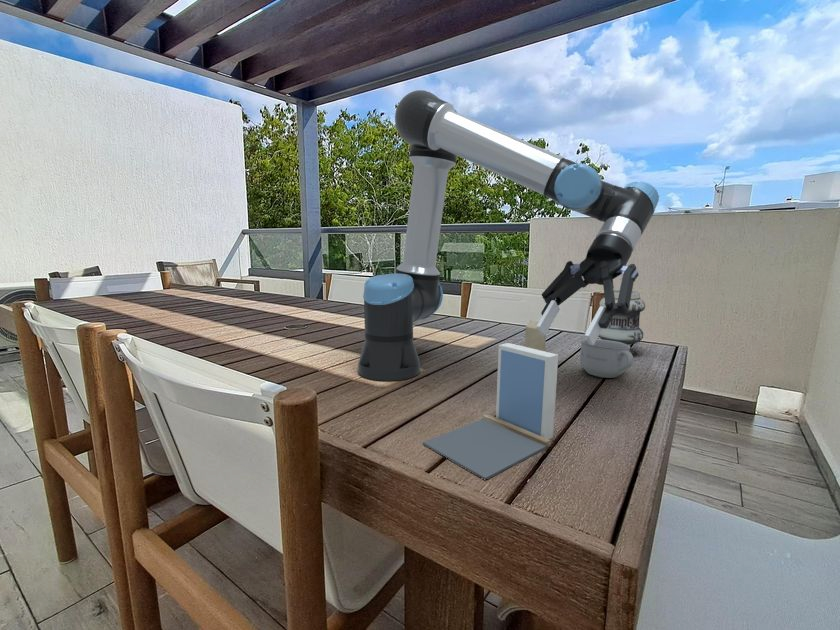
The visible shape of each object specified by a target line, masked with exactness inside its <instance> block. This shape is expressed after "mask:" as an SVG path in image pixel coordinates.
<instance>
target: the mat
mask: <svg viewBox="0 0 840 630" xmlns="http://www.w3.org/2000/svg"><path fill="white" fill-rule="evenodd" d="M422 445H423V446H424V445H425V446H424V447H426V448H428V447H429V448H428V449H430V448H431V449H432V451H433V450H434V451H433V452H435V451H436V452H438V453H440V454H442V455H443V456H445V457H446V459H447V458H448V459H450V460H451V461H450V460H449V461H450V462H452V461H453V462H452V463H454V462H455V463H456V464H455V463H454V464H455V465H457V464H458V465H457V466H459V465H460V466H459V467H461V466H462V467H464V468H466V469H467V470H469V471H471V472H473V473H474V474H476V475H477V476H476V475H475V476H476V477H478V476H480V477H481V478H483V479H485V480H486V479H488V478H490V479H491V477H492V478H494V477H495V476H497V475H499V474H501V473H503V472H504V471H506V470H508V469H510V468H512V467H515V466H516V465H518V464H520V463H521V462H524V461H525V460H527V459H529V458H531V457H533V456H535V455H537V454H539V453H541V452H542V451H544V450H546V449H548V448H547V447H546V446H544V445H542V444H540V443H538V442H535V441H533V440H531V439H528V438H526V437H524V436H521V435H519V434H517V433H514V432H512V431H510V430H508V429H505V428H503V427H501V426H498V425H496V424H494V423H491V422H489V421H487V420H484V419H483V418H482V419H479V420H477V421H474V422H471V423H468V424H465V425H464V426H460V427H458V428H456V429H453V430H450V431H448V432H445V433H443V434H440V435H438V436H435V437H433V438H430V439H427V440H425V441H423V442H422ZM547 446H548V445H547ZM431 449H430V450H431ZM436 452H435V453H436ZM438 453H437V454H438ZM440 454H439V455H440ZM442 455H441V456H442ZM443 456H442V457H443ZM445 457H444V458H445ZM448 459H447V460H448ZM462 467H461V468H462ZM464 468H463V469H464ZM466 469H465V470H466ZM467 470H466V471H467ZM469 471H468V472H469ZM471 472H470V473H471ZM473 473H472V474H473ZM474 474H473V475H474ZM480 477H479V478H480ZM481 478H480V479H481ZM483 479H482V480H483ZM485 480H484V481H485ZM488 480H489V479H488ZM486 481H487V480H486Z"/></svg>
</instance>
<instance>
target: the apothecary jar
mask: <svg viewBox="0 0 840 630" xmlns="http://www.w3.org/2000/svg"><path fill="white" fill-rule="evenodd" d="M619 292H620V289H614V297H615V303H617V302H618V297H619ZM640 294H641V293H640V291H639V290H632V294H631V299H630V305H629V310H628V313H627V314H621V313H618V314H616V315H614V316H613V318H612V320H611V322H610V324H609V326H608V327H607V328H606V329H604V328H602V330H601V332H600V334H599V336H598V337H599V339H601V340H610V341H616V342H621V343H624V344H627V345H629V346H630V345H635V344H637V343H638V342H640V341H642V340H643V339H644V332H643V329H642V328H640V317H641V312H643V311H644V310H645V309H646V303H645V301H644V300H642V298H641V296H640ZM600 306H602V307H605V308H606V306H605V297H604V296H603V298H601V300H600V301H599V307H600ZM629 352H630V353H631V354H632V356H633V357H636V356H637V355H638V352H637V351H636V350H634V349H633V348H631V347H630V350H629Z"/></svg>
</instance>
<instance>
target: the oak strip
mask: <svg viewBox="0 0 840 630" xmlns="http://www.w3.org/2000/svg"><path fill="white" fill-rule="evenodd" d="M482 419H484V420H487V421H489V422H491V423H494V424H496V425H498V426H501V427H503V428H505V429H508V430H510V431H512V432H514V433H517V434H519V435H521V436H524V437H526V438H528V439H531V440H533V441H535V442H538V443H540V444H542V445H544V446H546V447H547V448H546V449H548V448H550V447H551V443H552V441H551V439H546V438H544V437H542V436H539V435H537V434H534V433H532V432H530V431H527V430H525V429H522V428H520V427H518V426H515V425H513V424H510V423H508V422H506V421H503V420H501V419H499V418H496V416H493V415H492V414H489V413H486V414H483V415H482ZM547 445H548V446H547Z"/></svg>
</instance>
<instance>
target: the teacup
mask: <svg viewBox="0 0 840 630" xmlns="http://www.w3.org/2000/svg"><path fill="white" fill-rule="evenodd" d="M580 343H581V346H580V354H579V355H580V356H579V357H580V358H579V361H580V365H581V367H582V369H584V370H585V371H586V373H588V374H589V375H592V376H594V377H598V378H608V379H610V378H611V379H612V378H617V377H618V376H619V375H622V374H624V373H625V371H626V370H628V369H630V368H631V367H633V366H632V365H633V364H634V356H632V354H631V353H630V352H629V350H630V348H631V346H630V345H627V344H624V343H621V342H616V341H610V340H602V339H601V338H597V339H596V341H595V343H594V345H590V344H589V343H588V341H587V339H586V338H585V339H581V340H580Z"/></svg>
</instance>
